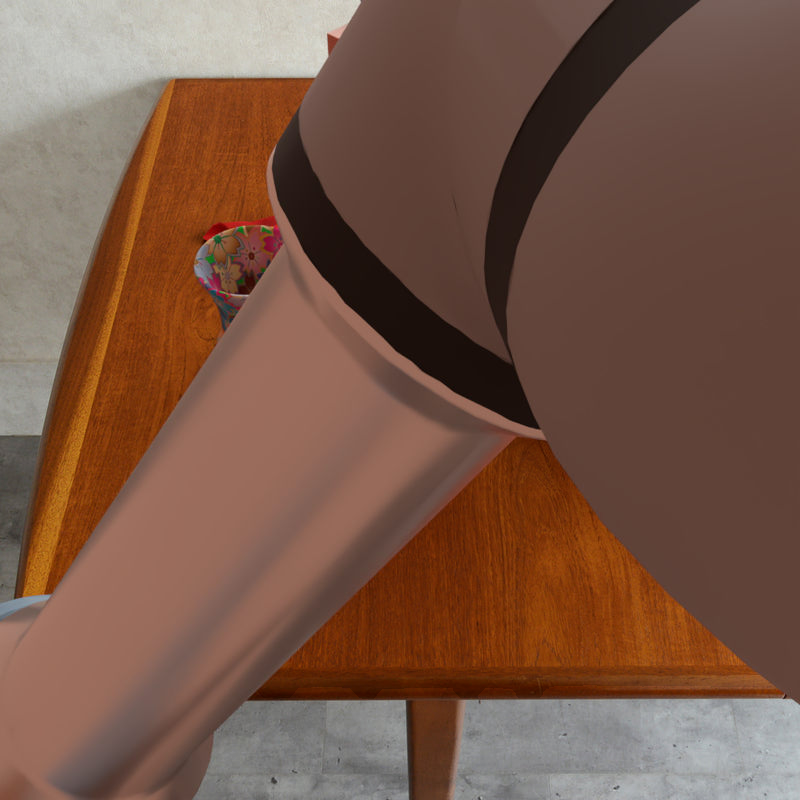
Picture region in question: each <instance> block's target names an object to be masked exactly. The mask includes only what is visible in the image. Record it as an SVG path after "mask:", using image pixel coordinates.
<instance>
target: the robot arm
mask: <svg viewBox="0 0 800 800" xmlns="http://www.w3.org/2000/svg"><path fill="white" fill-rule="evenodd" d="M359 1H360V2H359V4H358V6H357V8H356V9H355V11H354V13H353V15H352V16H351V18H350V20H349V22H348V23H347V24H348V25H347V26H346V28H345V30H344V31H343V33H342V35H341V36H340V38H339V40H338V41H337V43H336V45H335V46H334V48H333V50H332V51H331V53H330V55H329V56H327V57H326V59H325V61H324V63H323V64H322V66H321V68H320V69H319V72H317V75H316V76H315V77H314V79H313V81H312V83H311V84H310V86H309V87H308V90H307V91H306V92H305V94H304V96H303V98H302V101H301V103H300V104H299V106H298V108H297V109H296V111H295V113H294V114H293V116H292V117H291V119H290V121H289V122H288V124H287V126H286V128H285V129H284V131H283V132H282V133H281V135H280V137H279V139H278V140H277V142H276V144H275V146H274V147H273V150H272V151H271V154H270V156H269V158H268V161H267V167H266V174H265V175H266V185H267V186H266V187H267V188H266V189H267V195H268V198H269V202H270V205H271V210H272V213H273V216H275V219H276V222H277V225H278V228H279V231H280V234H281V236H282V239H283V242H284V244H283V245H282V247H281V248H280V250H279V251H278V253H277V254H276V256H275V257H274V259H273V260H272V262H271V263H270V265H269V266H268V268H267V269H266V271H265V272H264V274H263V275H262V277H261V278H260V280H259V281H258V283H257V284H256V286H255V287H254V289H253V290H252V292H251V293H250V295H249V296H248V298H247V300H246V301H245V303H244V304H243V306H242V307H241V309H240V310H239V312H238V313H237V315H236V316H235V318H234V319H233V321H232V322H231V324H230V325H229V327H228V328H227V330H226V331H225V333H224V334H223V336H222V337H221V339H220V340H219V342H218V343H217V342H216V345H215V346H214V348H213V350H212V351H211V352H210V354H209V355H208V357H207V359H206V360H205V361H204V363H203V365H202V366H201V368H200V369H199V370H198V371H197V373H196V375H195V377H194V378H193V380H191V383H190V384H189V385H188V387H187V388H186V390H185V392H184V393H183V395H182V397H180V399H179V401H178V402H177V403H176V405H175V406H174V409H173V410H172V412H170V415H169V416H168V418H167V419H166V421H165V422H164V424H162V426H161V428H160V429H159V431H158V433H157V434H156V435H155V437H154V438H153V440H152V442H151V443H150V444H149V447H148V448H147V449H146V451H145V452H144V454H143V455H142V457H141V458H140V460H139V461H138V462H137V465H136V466H135V467H134V469H133V470H132V472H131V473H130V475H129V477H128V478H127V479H126V481H125V483H124V484H123V485H122V487H121V488H120V490H119V492H118V493H117V495H116V496H115V498H114V499H113V501H112V502H111V503H110V505H109V507H108V508H107V510H106V511H105V512H104V513H103V516H102V518H101V519H100V520H99V522H98V523H97V524H96V526H95V528H94V529H93V531H92V532H91V534H90V535H89V537H88V539H87V540H86V541H85V543H84V544H83V546H82V548H80V550H79V552H78V553H77V555H76V557H75V558H74V560H73V561H72V563H71V564H70V566H69V567H68V569H67V570H66V571H65V574H64V575H63V576H62V577H61V579H60V581H59V582H58V583H57V585H56V586H55V588H54V589H53V591H52V593H50V594H38V595H37V594H35V595H29V596H22V597H19V598H14V599H11V600H7V601H4V602H0V800H193V799H194V797H195V796H196V795H197V793H198V791H199V789H200V787H201V785H202V783H203V781H204V778H205V776H206V773H207V771H208V768H209V766H210V762H211V760H212V759H211V758H212V752H213V747H214V737H215V732H216V731H217V730H218V729H219V728H221V726H222V725H223V724H224V723H225V722H226V721H227V720H229V718H230V717H231V716H233V714H235V712H236V711H238V709H240V707H242V706H243V704H245V703H246V702H247V700H249V699H250V697H252V696H253V695H254V694H255V693H256V692H257V691H258V690H259V689H260V688H261V687H262V686H263V685H264V684H265V683H266V682H267V681H268V680H269V679H270V678H271V677H272V676H273V675H274V674H276V672H277V671H278V670H279V669H280V668H281V667H282V666H283V665H284V664H285V663H286V662H287V661H288V660H290V659H291V658H292V657H293V655H295V654H296V653H297V652H298V651H299V650H300V649H301V648H302V647H303V646H304V645H305V644H306V643H307V642H308V641H309V640H310V639H311V638H312V637H313V636H314V635H315V634H316V633H317V632H318V631H320V629H322V628H323V627H324V625H325V624H326V623H328V621H329V620H331V619H332V618H333V617H334V615H336V614H337V613H338V612H339V611H340V610H341V609H342V608H343V607H344V606H345V605H346V604H347V603H348V602H349V601H351V599H352V598H353V597H354V596H355V595H356V594H357V593H359V591H360V590H361V589H362V588H364V587H365V585H366V584H368V582H369V581H370V580H372V578H374V577H375V575H376V574H378V573H379V572H380V571H381V570H382V569H383V568H384V567H385V566H386V565H387V564H388V563H389V562H390V561H391V560H392V559H393V558H394V557H395V556H396V555H397V554H398V553H399V552H400V551H401V550H402V549H403V548H404V547H405V546H406V545H407V544H409V542H410V541H412V540H413V538H415V536H417V535H418V534H419V533H420V531H422V530H423V529H424V528H425V527H426V526H427V525H428V524H429V523H430V522H431V521H432V520H433V519H434V518H435V517H436V516H437V515H438V514H439V513H440V512H441V511H442V510H443V509H444V508H445V507H446V506H447V505H448V504H449V503H450V502H451V501H452V500H454V498H456V496H457V495H459V493H460V492H461V491H463V489H465V488H466V487H467V486H468V485H469V484H470V483H471V482H472V481H473V480H474V479H475V478H476V477H477V476H478V475H479V474H480V473H481V472H482V471H483V470H484V469H485V468H486V467H487V466H488V465H489V464H490V463H491V462H492V461H493V460H494V459H496V458H497V456H498V455H499V454H500V453H502V452H503V451H504V450H505V449H506V448H507V447H508V446H509V445H510V444H511V443H512V442H513V441H514V440H515V439H516V438H517V437H519V438H524V439H525V438H526V439H532V440H540V441H545V442H547V444H548V446H549V447H550V450H551V452H552V454H553V456H554V458H555V459H556V460H557V462H558V463H559V464H560V466H561V467H562V469H563V470H564V471H565V473H566V474H567V476H568V477H569V478H570V480H571V482H573V484H574V485H575V487H576V488H577V490H578V491H579V492H580V494H581V495H582V497H583V498H584V500H585V501H586V502H587V504H588V505H589V507H590V508H591V510H592V511H593V512H594V513H595V515H596V516H597V518H598V519H599V520H600V522H601V523H602V525H603V526H604V527H605V528H606V529H607V530H608V531H609V532H610V533H611V534H612V535H613V536H614V537H615V539H616V540H617V541H618V542H619V543H620V544H621V545H622V546H623V547H624V548H625V549H626V550H627V551H628V552H629V554H630V555H631V556H633V558H634V559H635V560H636V561H637V562H638V563H639V564H640V566H641V567H643V569H644V570H645V571H646V572H647V573H648V574H649V575H650V576H651V578H653V579H654V580H655V582H656V583H657V584H658V585H659V586H660V587H661V588H662V589H663V590H664V591H665V593H667V594H668V596H670V597H671V599H673V600H674V601H675V602H676V603H678V604H679V605H680V606H681V608H683V609H684V610H685V611H686V612H688V613H689V614H690V615H691V616H692V617H693V618H694V619H695V620H696V621H697V622H698V623H700V624H701V625H702V626H703V627H704V628H705V629H706V630H708V631H709V633H711V634H712V636H714V637H715V638H716V639H717V640H718V641H719V642H721V644H723V645H724V646H725V647H726V648H727V649H728V650H729V651H731V653H733V654H734V656H736V657H737V658H738V659H739V660H740V661H742V663H743V664H745V665H746V666H747V667H749V668H750V669H751V670H752V671H754V672H755V673H756V674H758V675H759V676H760V677H761V678H763V679H765V680H766V681H767V682H768V683H770V684H771V685H773V686H774V687H775V688H777V689H778V691H780V692H782V693H783V694H784V695H786V696H787V697H788V698H790V699H791V700H792V701H794V702H795V703H796V704H798V705H799V706H800V0H359Z"/></svg>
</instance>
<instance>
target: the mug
mask: <svg viewBox="0 0 800 800" xmlns="http://www.w3.org/2000/svg"><path fill="white" fill-rule="evenodd" d="M283 244H284V242H283V239H282V236H281V234H280V231H279V228H275V227H271V226H264V225H248V226H241V227H236V228H232V229H229V230H226V231H224V232H221V233H219V234H217V235H216V236H214V237H212V238H211V239H209V240H208V241H206V242H204V243H203V244H202V245H201V247H200V248H199V250H198V251H197V253H196V255H195V257H194V261H193V272H194V276H195V278H196V280H197V282H198V283H199V284H200V285H201V287H202V288H203V289H204V290H205V291H206V292H207V293H208V294H209V296H210V297H211V298H212V300H213V302H214V304H215V306H216V307H217V308H216V309H217V310H218V313H219V317H220V332H219V334H218V336H217V340H216V344H217V343H218V342H219V340H220V339H221V337H222V336H223V334H224V333H225V331H226V330H227V328H228V327H229V325H230V324H231V322H232V321H233V319H234V318H235V316H236V315H237V313H238V312H239V310H240V309H241V307H242V306H243V304H244V303H245V301H246V300H247V298H248V296H249V295H250V293H251V292H252V290H253V289H254V287H255V286H256V284H257V283H258V281H259V280H260V278H261V277H262V275H263V274H264V272H265V271H266V269H267V268H268V266H269V265H270V263H271V262H272V260H273V259H274V257H275V256H276V254H277V253H278V251H279V250H280V248H281V247H282V245H283Z"/></svg>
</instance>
